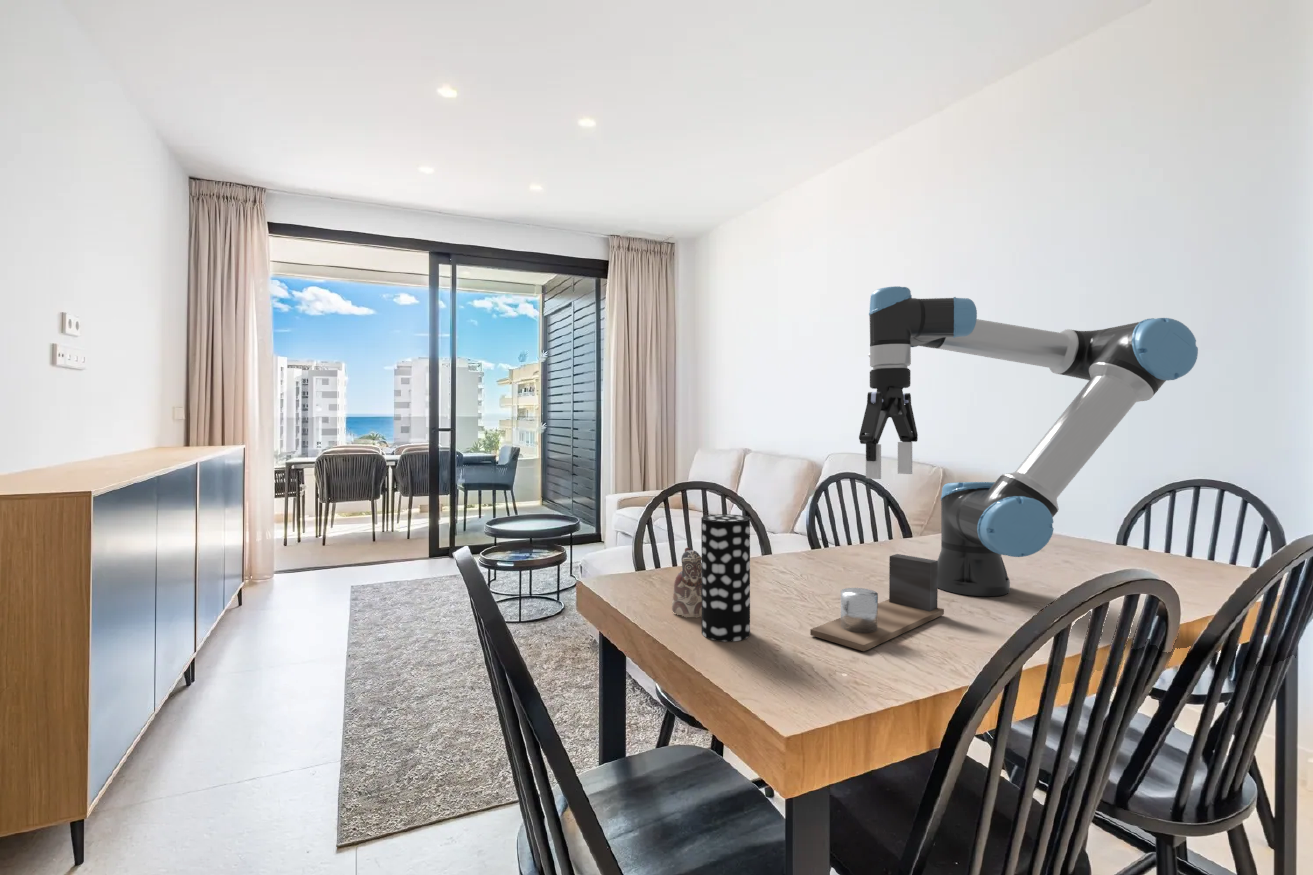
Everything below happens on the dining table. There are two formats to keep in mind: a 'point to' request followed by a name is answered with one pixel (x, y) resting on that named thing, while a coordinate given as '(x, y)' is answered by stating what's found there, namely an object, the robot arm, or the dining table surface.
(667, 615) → the dining table surface
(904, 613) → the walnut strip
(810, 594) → the dining table surface
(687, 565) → the figurine
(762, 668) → the dining table surface
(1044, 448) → the robot arm
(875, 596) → the steel tin
